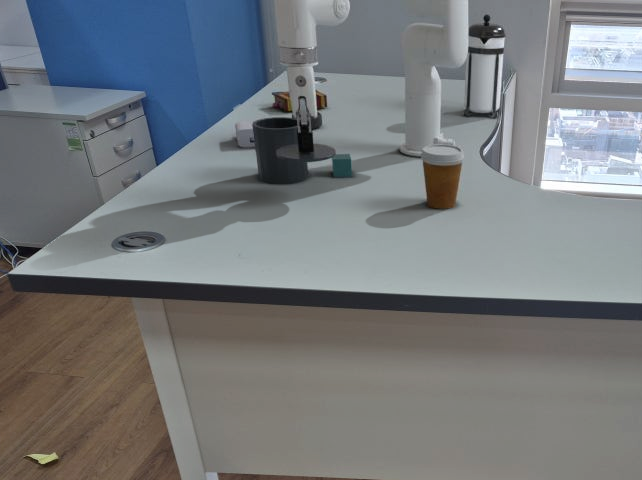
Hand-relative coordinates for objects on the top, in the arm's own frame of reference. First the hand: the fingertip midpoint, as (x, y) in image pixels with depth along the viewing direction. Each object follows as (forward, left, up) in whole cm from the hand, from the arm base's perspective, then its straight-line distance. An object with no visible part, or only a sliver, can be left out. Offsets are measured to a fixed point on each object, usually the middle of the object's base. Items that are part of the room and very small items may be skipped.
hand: (306, 148), depth 140 cm
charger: (+34, -40, -11) cm, 54 cm away
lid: (0, 0, -1) cm, 1 cm away
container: (+12, -12, -11) cm, 20 cm away
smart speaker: (+26, -59, -11) cm, 65 cm away
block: (-1, -18, -11) cm, 21 cm away
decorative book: (+39, -82, -11) cm, 92 cm away
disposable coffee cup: (-29, -5, -11) cm, 31 cm away
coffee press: (-21, -97, -11) cm, 100 cm away
